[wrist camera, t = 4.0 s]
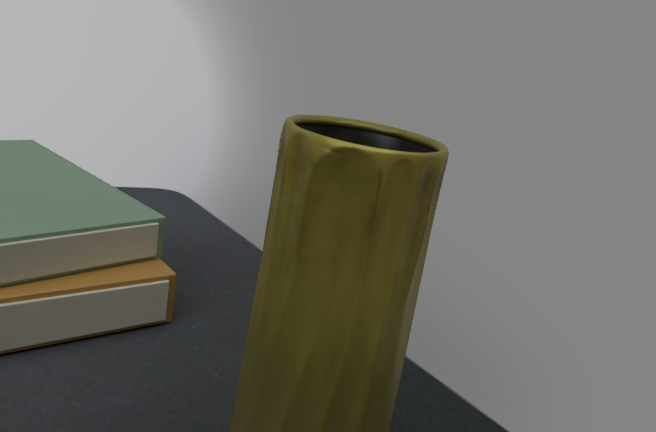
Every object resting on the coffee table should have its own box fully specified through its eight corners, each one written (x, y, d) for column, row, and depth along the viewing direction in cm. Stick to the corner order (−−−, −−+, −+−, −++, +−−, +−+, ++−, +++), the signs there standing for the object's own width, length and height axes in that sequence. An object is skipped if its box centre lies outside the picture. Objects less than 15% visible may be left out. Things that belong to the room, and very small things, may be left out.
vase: (217, 439, 25) (265, 103, 21) (357, 445, 26) (429, 128, 22) (213, 565, 19) (277, 137, 15) (391, 565, 20) (497, 169, 16)
